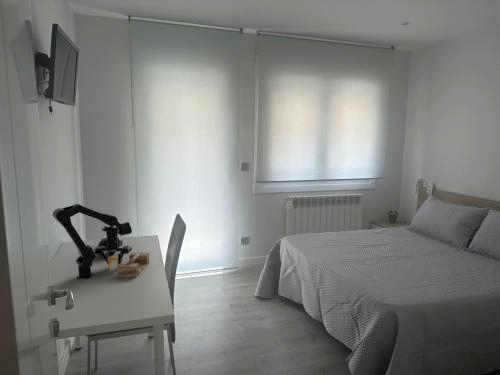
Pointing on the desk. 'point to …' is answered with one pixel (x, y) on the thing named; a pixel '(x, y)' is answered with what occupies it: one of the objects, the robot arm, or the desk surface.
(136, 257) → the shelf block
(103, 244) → the black cylinder
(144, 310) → the desk surface
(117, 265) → the tan u-shaped bracket
